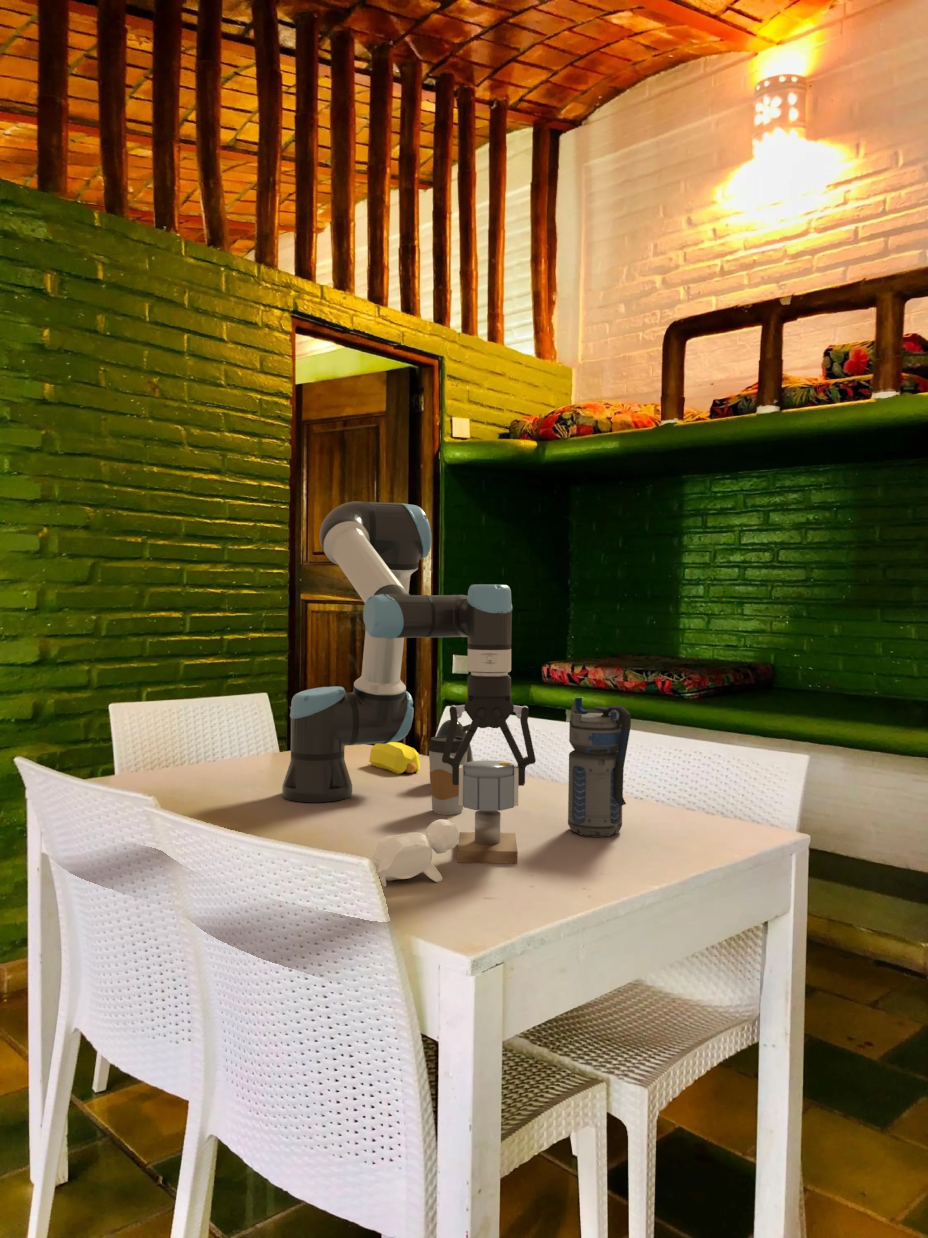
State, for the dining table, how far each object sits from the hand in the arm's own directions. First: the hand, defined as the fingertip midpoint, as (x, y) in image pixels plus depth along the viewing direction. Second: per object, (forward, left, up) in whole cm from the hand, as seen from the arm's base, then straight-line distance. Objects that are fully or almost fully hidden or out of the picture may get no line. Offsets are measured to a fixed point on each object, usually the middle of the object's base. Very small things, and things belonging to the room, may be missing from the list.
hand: (488, 803), depth 167 cm
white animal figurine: (-12, -14, -9) cm, 20 cm away
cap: (0, 0, 0) cm, 0 cm away
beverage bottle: (+21, +15, -9) cm, 27 cm away
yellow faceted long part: (-23, +74, -9) cm, 78 cm away
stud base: (0, 0, -9) cm, 9 cm away
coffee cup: (-8, +30, -9) cm, 32 cm away
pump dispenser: (-8, +56, -9) cm, 57 cm away
